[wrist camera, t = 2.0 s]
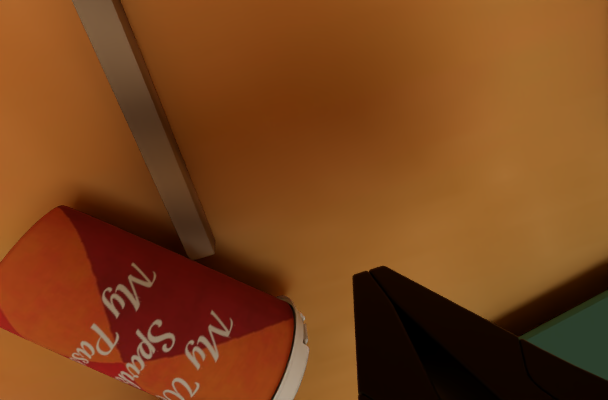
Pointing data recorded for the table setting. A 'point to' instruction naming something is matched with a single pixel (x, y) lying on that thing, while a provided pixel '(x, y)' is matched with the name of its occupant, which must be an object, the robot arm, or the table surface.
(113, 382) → the table surface
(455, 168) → the table surface
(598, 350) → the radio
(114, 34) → the strip
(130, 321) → the coffee cup
